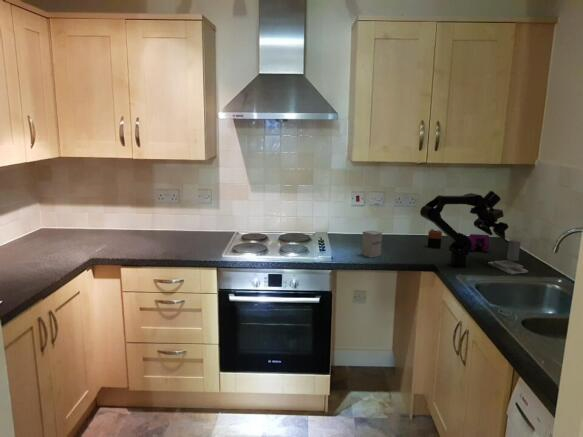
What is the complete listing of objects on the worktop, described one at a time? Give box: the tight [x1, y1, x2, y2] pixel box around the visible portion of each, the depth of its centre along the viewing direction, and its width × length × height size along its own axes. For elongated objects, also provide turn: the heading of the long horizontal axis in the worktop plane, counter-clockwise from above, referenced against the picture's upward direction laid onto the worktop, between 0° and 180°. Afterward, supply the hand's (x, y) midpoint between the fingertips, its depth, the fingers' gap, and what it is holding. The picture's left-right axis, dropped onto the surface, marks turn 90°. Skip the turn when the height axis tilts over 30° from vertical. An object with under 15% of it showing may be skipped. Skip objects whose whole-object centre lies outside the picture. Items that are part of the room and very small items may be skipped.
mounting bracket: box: [467, 233, 490, 253], centre depth 259 cm, size 10×8×18 cm
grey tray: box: [487, 259, 529, 275], centre depth 225 cm, size 9×17×2 cm, turn 17°
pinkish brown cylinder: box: [361, 229, 383, 259], centre depth 242 cm, size 7×7×13 cm
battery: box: [427, 229, 443, 250], centre depth 260 cm, size 4×7×10 cm, turn 67°
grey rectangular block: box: [506, 239, 521, 262], centre depth 238 cm, size 4×4×10 cm
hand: (498, 237), depth 232 cm, fingers open, 9 cm apart
